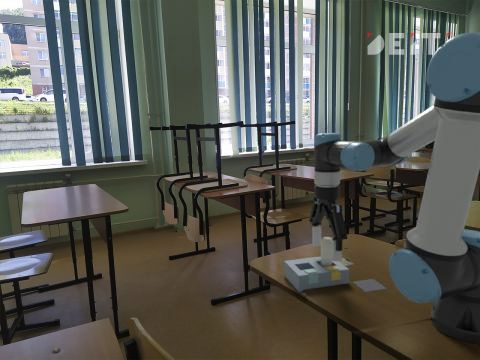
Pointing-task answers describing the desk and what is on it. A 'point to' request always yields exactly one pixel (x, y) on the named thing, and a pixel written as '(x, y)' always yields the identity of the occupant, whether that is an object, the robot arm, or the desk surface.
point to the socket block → (314, 273)
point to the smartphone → (346, 262)
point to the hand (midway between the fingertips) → (326, 252)
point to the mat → (369, 285)
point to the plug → (326, 251)
